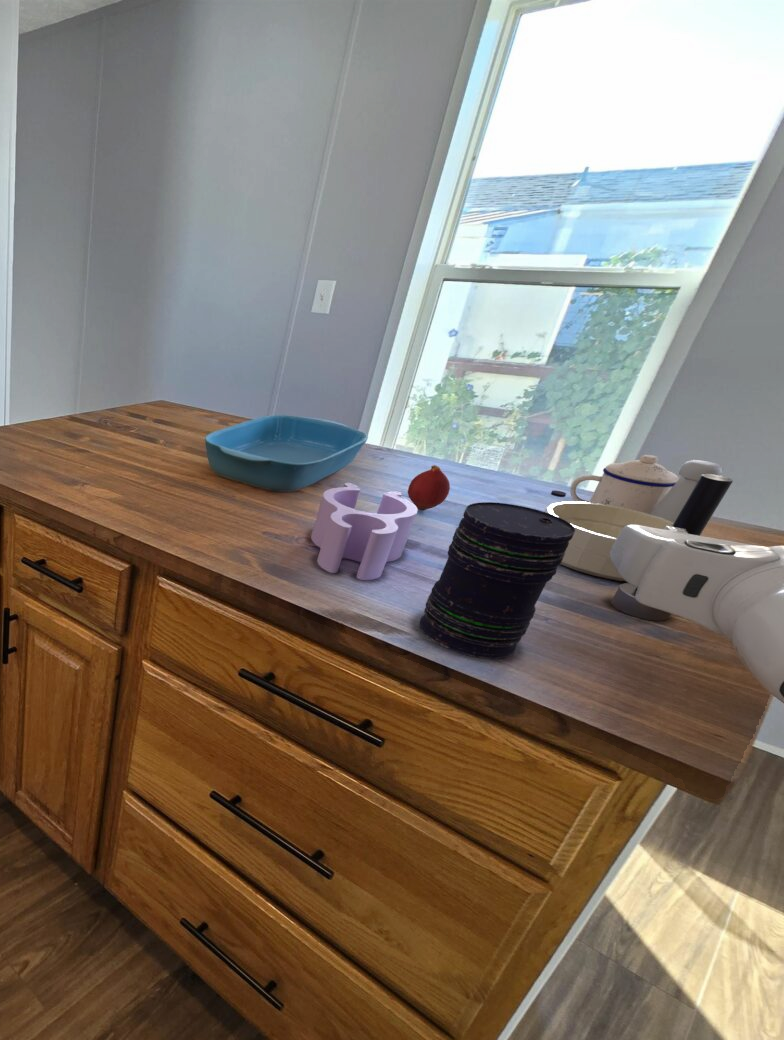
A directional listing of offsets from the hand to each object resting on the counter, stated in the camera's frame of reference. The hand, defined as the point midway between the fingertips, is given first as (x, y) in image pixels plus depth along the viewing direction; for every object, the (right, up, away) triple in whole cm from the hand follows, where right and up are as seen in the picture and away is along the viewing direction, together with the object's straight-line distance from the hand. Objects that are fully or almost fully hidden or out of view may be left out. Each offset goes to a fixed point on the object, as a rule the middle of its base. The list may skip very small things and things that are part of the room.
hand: (730, 544), depth 68 cm
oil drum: (-20, -10, +10) cm, 25 cm away
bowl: (+13, 0, +28) cm, 31 cm away
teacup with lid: (+26, +7, +41) cm, 49 cm away
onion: (-2, +10, +45) cm, 46 cm away
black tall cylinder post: (+6, -7, +16) cm, 18 cm away
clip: (-22, +1, +30) cm, 37 cm away
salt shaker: (+28, +3, +34) cm, 44 cm away
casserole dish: (-18, +20, +63) cm, 69 cm away
